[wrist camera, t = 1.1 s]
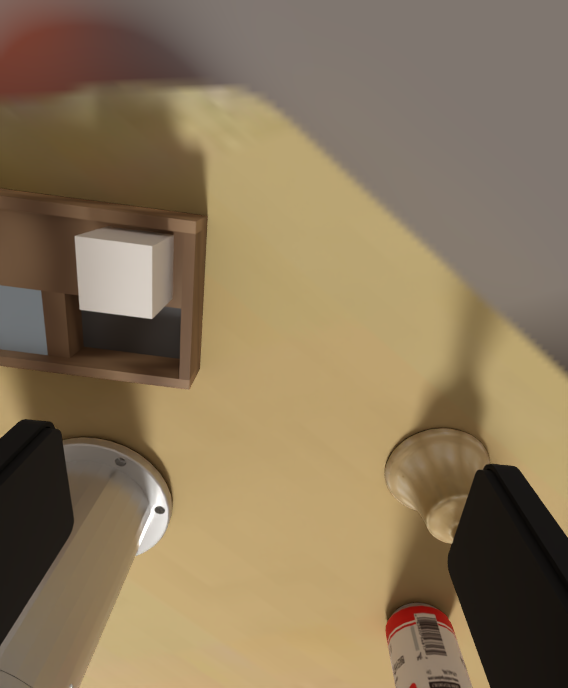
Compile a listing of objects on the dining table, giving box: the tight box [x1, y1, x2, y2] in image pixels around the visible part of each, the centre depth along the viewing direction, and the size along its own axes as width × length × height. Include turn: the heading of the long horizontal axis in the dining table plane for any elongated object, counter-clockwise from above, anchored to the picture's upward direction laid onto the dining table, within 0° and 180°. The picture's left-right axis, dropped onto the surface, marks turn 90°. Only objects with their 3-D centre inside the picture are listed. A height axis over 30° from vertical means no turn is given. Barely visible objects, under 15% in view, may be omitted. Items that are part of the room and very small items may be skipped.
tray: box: [0, 188, 208, 390], centre depth 27 cm, size 18×11×3 cm, turn 83°
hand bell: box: [385, 428, 490, 544], centre depth 27 cm, size 8×8×16 cm
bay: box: [0, 285, 48, 355], centre depth 29 cm, size 5×5×2 cm
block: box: [75, 226, 174, 319], centre depth 24 cm, size 4×4×4 cm
